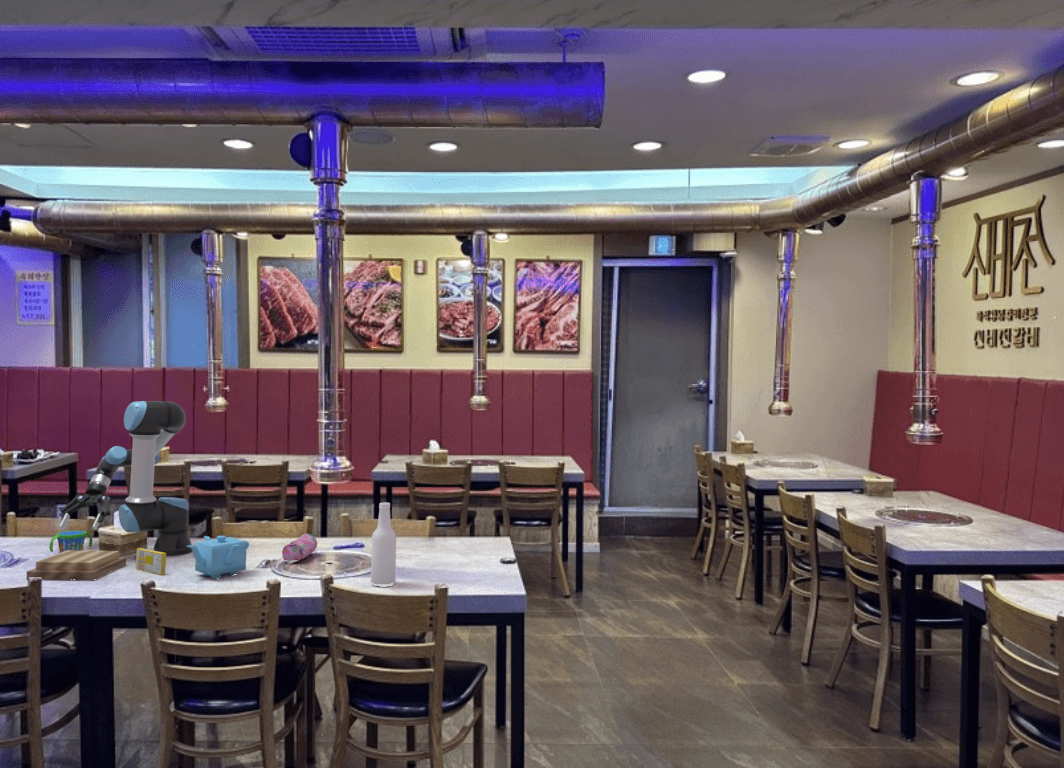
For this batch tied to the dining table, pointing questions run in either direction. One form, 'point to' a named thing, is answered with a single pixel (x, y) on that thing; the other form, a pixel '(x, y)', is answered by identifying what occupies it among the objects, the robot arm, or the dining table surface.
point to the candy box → (151, 561)
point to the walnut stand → (77, 565)
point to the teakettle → (220, 556)
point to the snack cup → (70, 540)
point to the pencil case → (299, 548)
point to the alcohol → (383, 549)
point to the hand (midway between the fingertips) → (78, 528)
